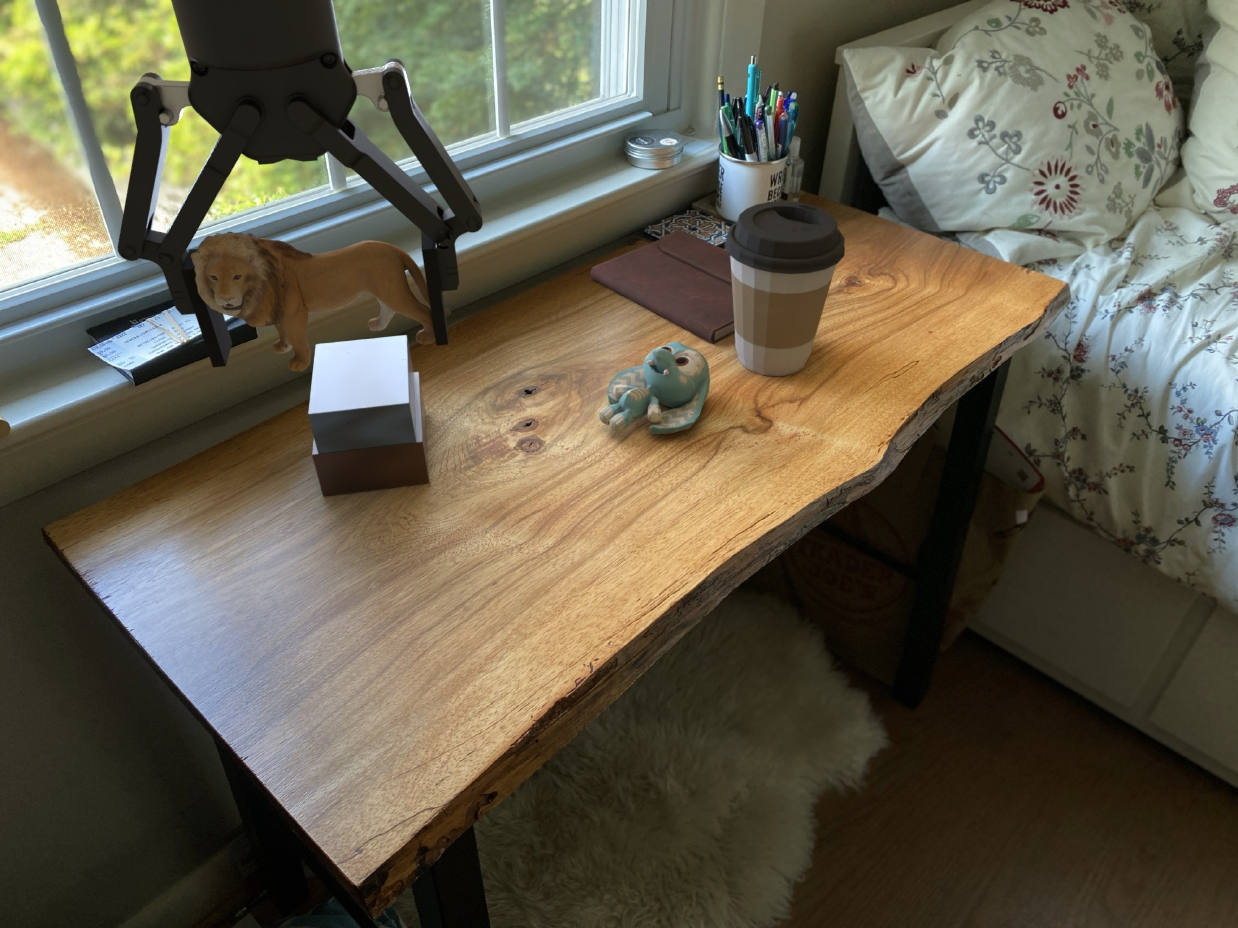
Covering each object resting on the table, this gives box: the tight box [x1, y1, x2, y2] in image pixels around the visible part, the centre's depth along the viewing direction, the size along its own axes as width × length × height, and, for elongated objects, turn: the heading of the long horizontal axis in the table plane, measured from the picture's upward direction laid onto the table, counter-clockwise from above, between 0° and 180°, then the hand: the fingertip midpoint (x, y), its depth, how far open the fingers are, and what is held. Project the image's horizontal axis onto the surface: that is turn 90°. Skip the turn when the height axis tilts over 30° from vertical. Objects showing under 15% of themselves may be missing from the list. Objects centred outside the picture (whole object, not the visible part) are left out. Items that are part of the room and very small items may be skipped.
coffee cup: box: [724, 201, 846, 377], centre depth 92 cm, size 11×11×15 cm
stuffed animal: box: [598, 340, 711, 435], centre depth 87 cm, size 11×7×12 cm
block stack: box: [307, 334, 430, 497], centre depth 82 cm, size 9×11×8 cm
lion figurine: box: [191, 231, 452, 373], centre depth 57 cm, size 15×5×9 cm, turn 122°
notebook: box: [590, 229, 735, 344], centre depth 107 cm, size 15×20×2 cm
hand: (334, 345), depth 59 cm, fingers closed on lion figurine, 13 cm apart
